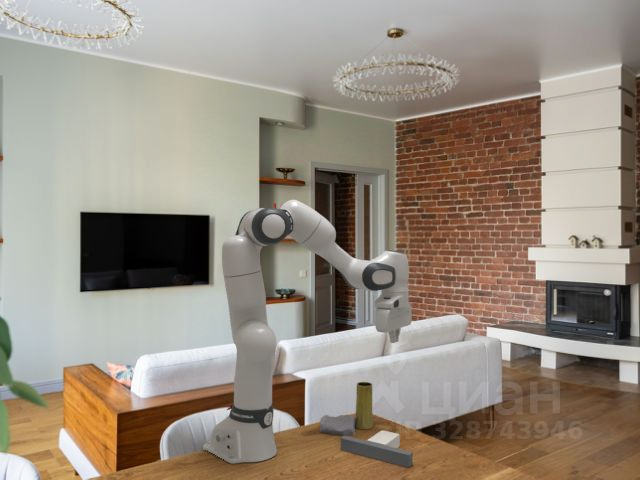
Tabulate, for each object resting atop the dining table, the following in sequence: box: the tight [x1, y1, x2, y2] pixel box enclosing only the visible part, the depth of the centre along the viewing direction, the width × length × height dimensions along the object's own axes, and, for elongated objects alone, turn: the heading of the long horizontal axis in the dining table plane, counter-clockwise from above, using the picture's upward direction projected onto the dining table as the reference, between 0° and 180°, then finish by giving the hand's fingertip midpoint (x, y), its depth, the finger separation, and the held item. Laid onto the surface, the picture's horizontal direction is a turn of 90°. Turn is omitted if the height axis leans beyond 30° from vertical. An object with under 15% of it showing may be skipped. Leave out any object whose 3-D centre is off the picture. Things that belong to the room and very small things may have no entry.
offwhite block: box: [366, 429, 401, 449], centre depth 164 cm, size 6×10×4 cm, turn 148°
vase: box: [355, 381, 374, 430], centre depth 183 cm, size 6×6×14 cm
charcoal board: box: [340, 435, 414, 469], centre depth 158 cm, size 22×2×4 cm, turn 57°
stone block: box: [319, 414, 356, 436], centre depth 180 cm, size 12×5×10 cm
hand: (394, 342), depth 179 cm, fingers closed
